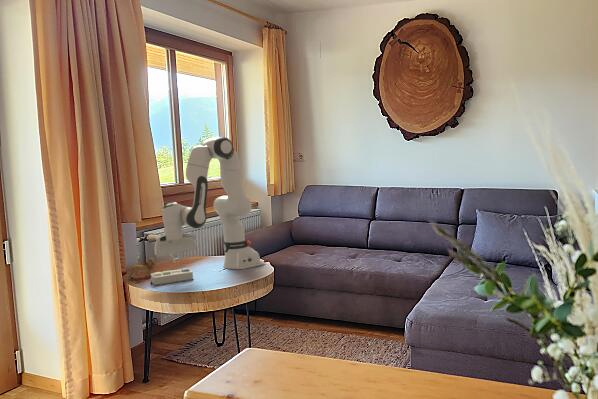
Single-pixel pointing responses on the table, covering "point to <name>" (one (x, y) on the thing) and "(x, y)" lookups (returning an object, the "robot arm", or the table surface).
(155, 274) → the key cream
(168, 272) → the key sage
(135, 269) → the lion figurine
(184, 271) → the key slate
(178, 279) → the keypad
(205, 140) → the robot arm
